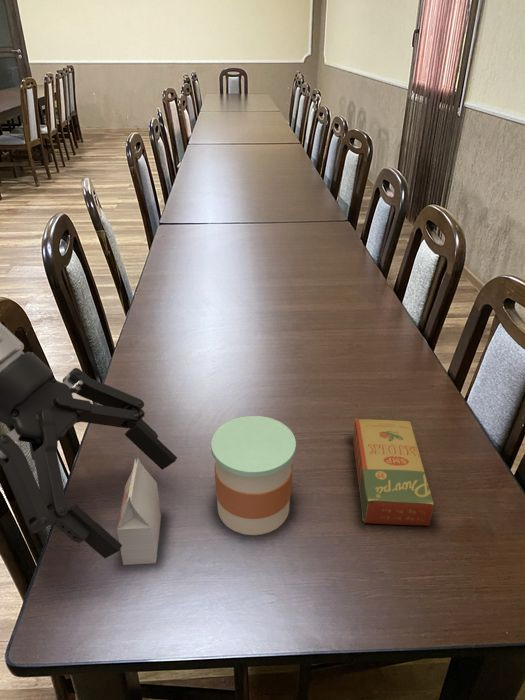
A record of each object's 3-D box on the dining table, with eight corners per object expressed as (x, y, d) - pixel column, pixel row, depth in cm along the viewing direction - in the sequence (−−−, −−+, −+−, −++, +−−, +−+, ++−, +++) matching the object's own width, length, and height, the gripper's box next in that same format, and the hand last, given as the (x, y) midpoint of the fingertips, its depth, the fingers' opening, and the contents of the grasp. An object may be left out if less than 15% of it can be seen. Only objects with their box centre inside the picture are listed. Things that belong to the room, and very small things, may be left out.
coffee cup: (202, 526, 66) (197, 460, 61) (230, 471, 74) (228, 409, 69) (280, 546, 64) (283, 480, 58) (300, 487, 72) (304, 424, 66)
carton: (407, 442, 80) (412, 419, 78) (430, 528, 66) (437, 503, 64) (351, 439, 80) (354, 416, 78) (362, 524, 67) (367, 500, 64)
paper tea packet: (161, 517, 67) (153, 457, 62) (156, 563, 62) (147, 501, 56) (131, 518, 67) (121, 458, 62) (123, 565, 61) (111, 502, 56)
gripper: (-83, 431, 45) (103, 590, 49) (84, 303, 65) (205, 423, 69) (-111, 465, 49) (63, 609, 53) (54, 335, 69) (171, 446, 73)
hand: (144, 504), depth 61 cm, fingers open, 13 cm apart
